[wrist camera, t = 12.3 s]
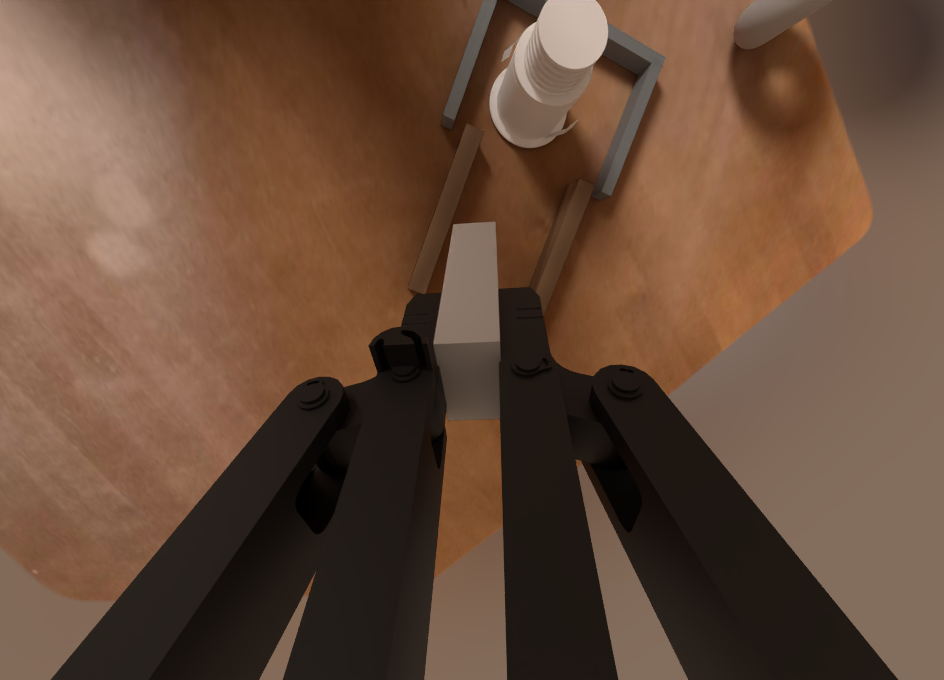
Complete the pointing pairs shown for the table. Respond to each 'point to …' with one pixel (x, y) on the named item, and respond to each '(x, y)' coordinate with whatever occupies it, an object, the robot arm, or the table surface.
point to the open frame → (617, 50)
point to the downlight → (548, 72)
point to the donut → (771, 19)
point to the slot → (448, 202)
